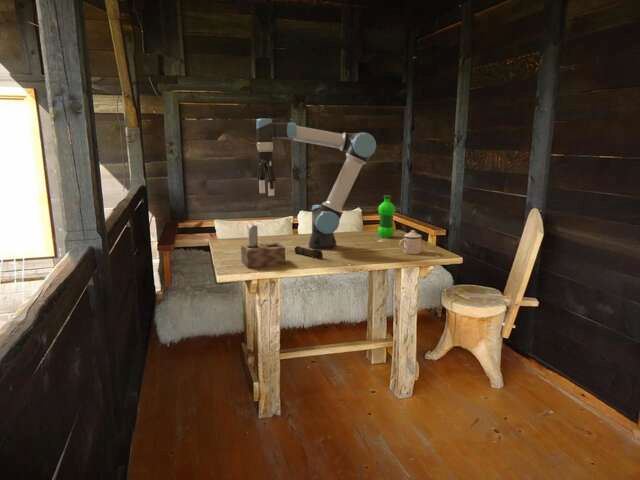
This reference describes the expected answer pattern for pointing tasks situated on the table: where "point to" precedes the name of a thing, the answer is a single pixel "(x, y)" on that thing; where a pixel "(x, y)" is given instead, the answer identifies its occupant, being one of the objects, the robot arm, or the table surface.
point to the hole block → (263, 255)
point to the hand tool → (309, 252)
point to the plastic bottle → (386, 217)
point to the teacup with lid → (411, 243)
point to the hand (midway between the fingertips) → (266, 194)
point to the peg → (253, 236)
